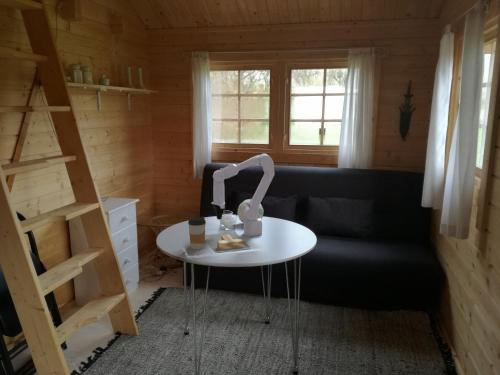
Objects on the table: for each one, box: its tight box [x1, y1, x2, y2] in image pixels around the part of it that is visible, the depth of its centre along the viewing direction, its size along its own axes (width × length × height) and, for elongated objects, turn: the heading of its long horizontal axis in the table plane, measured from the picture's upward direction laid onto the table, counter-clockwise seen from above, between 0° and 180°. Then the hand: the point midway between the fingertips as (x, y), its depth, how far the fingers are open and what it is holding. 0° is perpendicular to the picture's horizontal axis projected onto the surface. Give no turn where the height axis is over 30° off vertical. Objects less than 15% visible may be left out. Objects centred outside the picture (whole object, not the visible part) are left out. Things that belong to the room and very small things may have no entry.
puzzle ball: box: [237, 198, 264, 224], centre depth 232 cm, size 15×15×15 cm
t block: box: [217, 235, 245, 250], centre depth 195 cm, size 12×12×3 cm
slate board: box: [205, 231, 251, 254], centre depth 200 cm, size 18×26×1 cm
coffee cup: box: [187, 216, 207, 250], centre depth 190 cm, size 8×8×15 cm
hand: (219, 219), depth 209 cm, fingers closed
